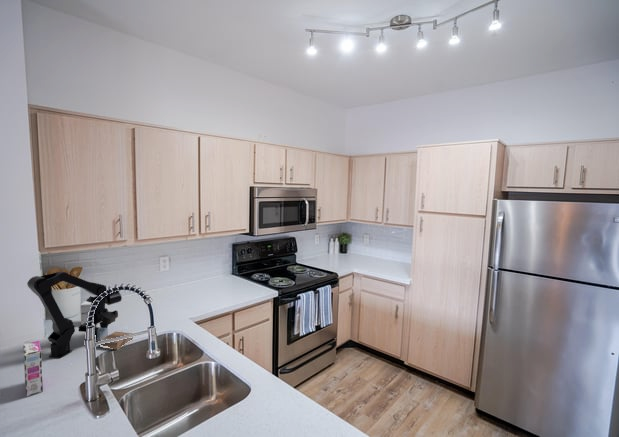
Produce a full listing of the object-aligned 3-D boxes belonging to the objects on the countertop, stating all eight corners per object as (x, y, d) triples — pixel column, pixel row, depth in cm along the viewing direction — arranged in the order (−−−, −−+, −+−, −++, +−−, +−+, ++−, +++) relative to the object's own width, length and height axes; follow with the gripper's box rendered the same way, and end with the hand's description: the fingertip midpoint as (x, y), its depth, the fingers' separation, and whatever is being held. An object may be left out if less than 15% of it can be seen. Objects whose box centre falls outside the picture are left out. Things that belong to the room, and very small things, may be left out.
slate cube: (100, 341, 154) (99, 332, 154) (91, 341, 155) (91, 331, 154) (108, 337, 159) (107, 328, 158) (99, 336, 160) (99, 327, 159)
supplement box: (80, 326, 171) (79, 304, 169) (86, 321, 178) (85, 300, 177) (95, 325, 172) (94, 303, 171) (100, 319, 180) (100, 299, 179)
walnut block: (117, 350, 147) (117, 342, 146) (99, 348, 148) (99, 340, 148) (132, 340, 156) (132, 333, 156) (115, 338, 158) (115, 331, 158)
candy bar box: (44, 391, 116) (41, 350, 114) (26, 397, 112) (23, 355, 111) (41, 378, 124) (39, 339, 122) (25, 383, 120) (22, 344, 119)
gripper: (97, 316, 145) (99, 347, 146) (126, 302, 163) (127, 330, 165) (76, 314, 146) (78, 345, 148) (107, 301, 165) (108, 328, 166)
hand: (99, 337), depth 157 cm, fingers closed on slate cube, 5 cm apart
